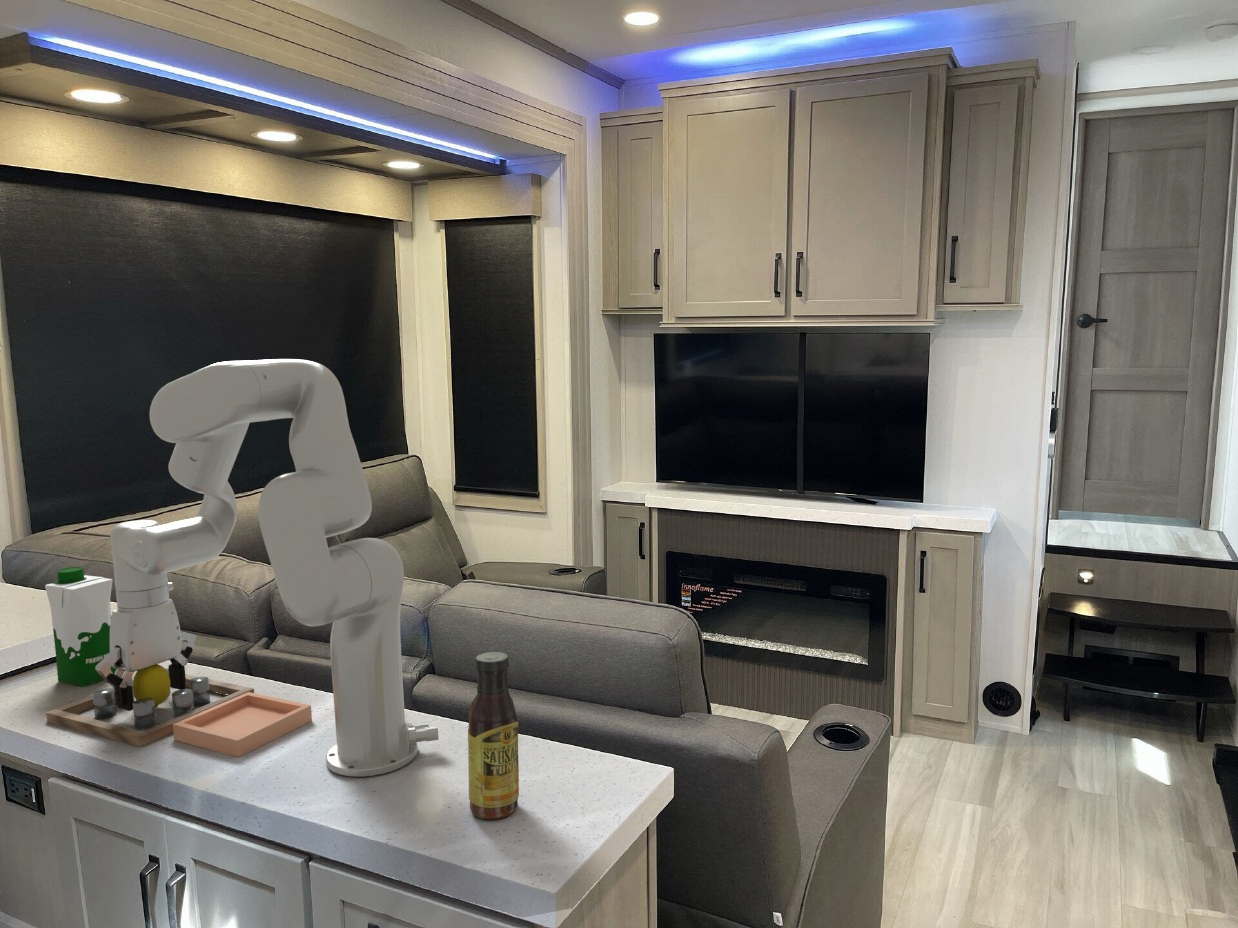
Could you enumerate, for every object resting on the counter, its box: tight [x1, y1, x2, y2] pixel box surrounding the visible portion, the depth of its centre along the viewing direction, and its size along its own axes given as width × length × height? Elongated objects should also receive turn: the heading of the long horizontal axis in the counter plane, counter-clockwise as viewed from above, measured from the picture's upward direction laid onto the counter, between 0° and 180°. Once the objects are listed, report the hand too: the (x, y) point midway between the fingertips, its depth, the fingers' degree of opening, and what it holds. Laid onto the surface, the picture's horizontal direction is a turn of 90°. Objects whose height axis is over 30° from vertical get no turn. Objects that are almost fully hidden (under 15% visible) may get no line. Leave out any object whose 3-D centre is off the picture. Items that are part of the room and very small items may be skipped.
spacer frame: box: [45, 673, 255, 748], centre depth 148 cm, size 23×21×2 cm
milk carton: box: [44, 566, 116, 687], centre depth 162 cm, size 9×9×20 cm
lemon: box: [132, 664, 171, 710], centre depth 148 cm, size 6×6×8 cm
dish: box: [172, 692, 313, 758], centre depth 139 cm, size 14×14×2 cm
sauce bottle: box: [467, 651, 520, 820], centre depth 112 cm, size 7×6×20 cm
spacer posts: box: [92, 667, 211, 731], centre depth 148 cm, size 18×13×4 cm
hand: (152, 698), depth 148 cm, fingers open, 9 cm apart
